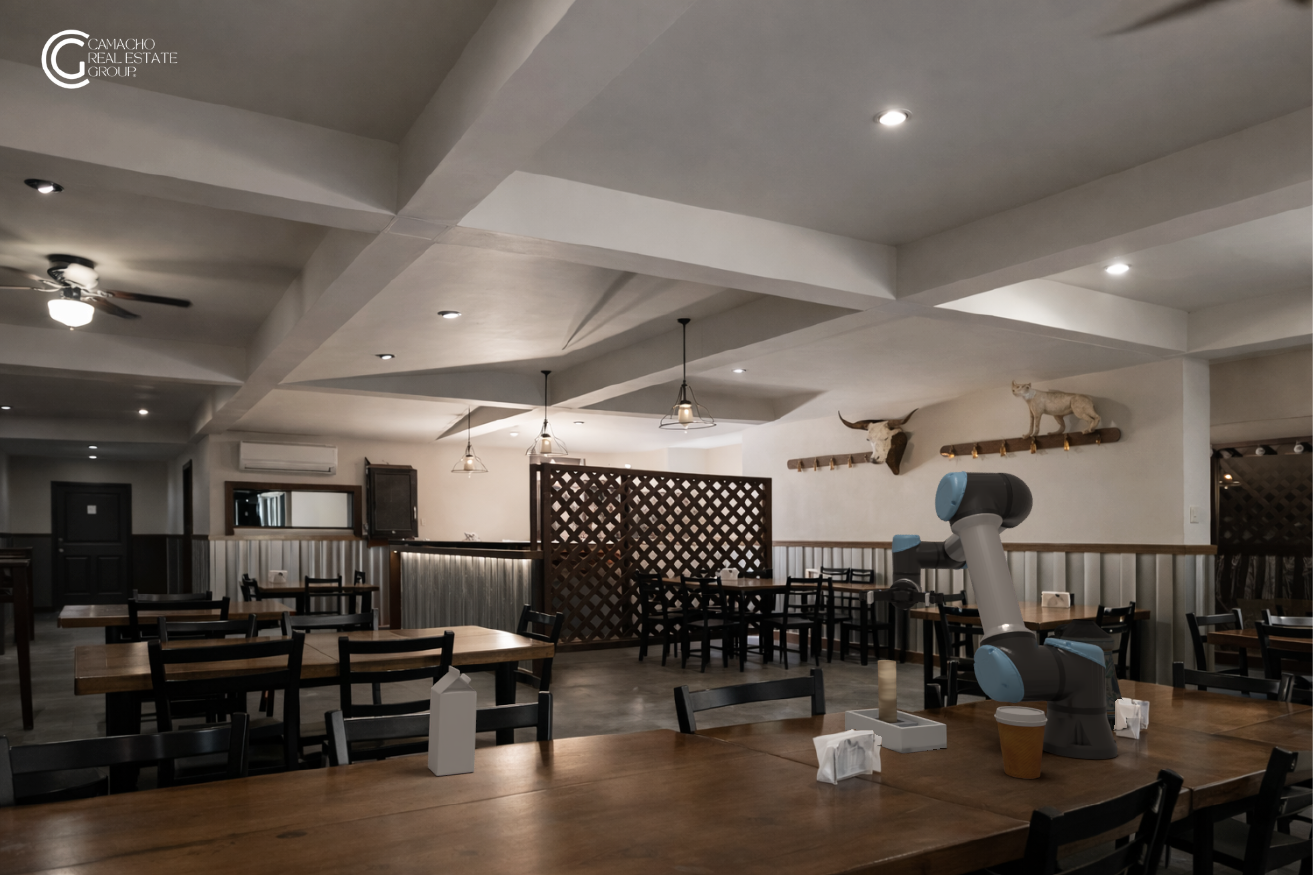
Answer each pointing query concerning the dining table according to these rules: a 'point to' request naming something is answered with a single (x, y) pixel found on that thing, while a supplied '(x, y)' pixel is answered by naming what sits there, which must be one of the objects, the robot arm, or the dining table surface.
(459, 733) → the milk carton
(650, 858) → the dining table surface
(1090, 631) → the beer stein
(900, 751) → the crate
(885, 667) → the dowel
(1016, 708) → the disposable coffee cup
